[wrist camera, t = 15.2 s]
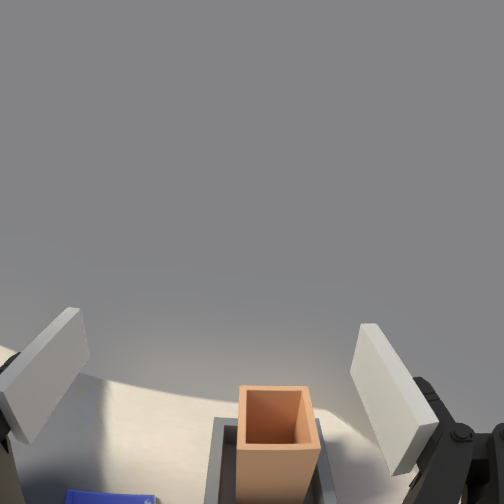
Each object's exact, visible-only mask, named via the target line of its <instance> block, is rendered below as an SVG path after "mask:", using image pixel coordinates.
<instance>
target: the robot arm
mask: <svg viewBox="0 0 504 504" xmlns="http://www.w3.org/2000/svg"><path fill="white" fill-rule="evenodd" d="M89 357H90V353H89V348H88V344H87V339H86V334H85V329H84V324H83V319H82V314H81V309H77V308H70V307H68V308H67V309H65V311H63V312H62V313H61V314H60V315H59V316H58V317H57V318H56V319H55V320H54V321H53V322H52V323H51V324H50V325H49V326H48V327H47V328H46V329H45V330H44V331H43V332H41V333H40V334H39V335H38V336H37V337H36V339H35V340H34V341H33V342H31V343H30V344H29V345H28V347H26V348H25V349H24V351H23V352H19V353H17V354H15V355H13V356H12V357H10V358H9V359H8V360H7V361H6V362H5V363H4V365H2V366H1V367H0V504H26V503H25V500H24V497H23V493H22V490H21V486H20V482H19V479H18V475H17V471H16V467H15V462H14V458H13V453H12V448H11V443H10V440H9V437H8V436H7V434H8V433H9V431H10V430H11V431H12V433H13V434H14V436H15V438H16V440H18V441H21V442H23V443H26V444H28V445H31V444H32V443H33V441H34V440H35V438H36V436H37V435H38V433H39V432H40V430H41V429H42V427H43V425H44V424H45V422H46V421H47V419H48V418H49V416H50V415H51V413H52V412H53V410H54V409H55V407H56V406H57V404H58V403H59V401H60V400H61V398H62V397H63V395H64V394H65V392H66V391H67V389H68V388H69V386H70V385H71V383H72V382H73V380H74V379H75V378H76V376H77V375H78V373H79V372H80V370H81V369H82V368H83V366H84V365H85V363H86V362H87V360H88V359H89ZM350 373H351V375H352V378H353V380H354V382H355V385H356V387H357V390H358V392H359V395H360V397H361V400H362V402H363V404H364V407H365V409H366V412H367V414H368V417H369V419H370V422H371V424H372V427H373V429H374V432H375V435H376V437H377V440H378V442H379V445H380V448H381V450H382V453H383V455H384V458H385V461H386V463H387V466H388V469H389V471H390V474H391V476H396V475H401V474H405V473H410V472H411V470H412V468H413V467H414V465H415V464H417V466H418V468H419V472H418V473H417V475H416V476H415V478H414V479H413V481H412V482H411V484H410V485H409V487H410V489H409V491H408V493H407V495H406V497H405V499H404V501H403V503H402V504H458V503H459V500H460V497H461V504H504V423H501V424H498V425H497V426H496V427H495V428H494V430H493V432H492V433H483V434H480V433H474V431H473V429H471V428H470V427H469V426H467V425H465V424H463V423H456V422H455V421H454V419H453V418H452V416H451V415H450V413H449V411H448V410H447V408H446V407H445V405H444V404H443V402H442V401H441V400H440V398H439V396H438V395H437V394H436V393H435V390H434V389H433V387H432V386H431V385H430V383H428V382H427V381H426V380H424V379H423V378H422V377H414V378H412V377H411V375H410V374H409V372H408V371H407V369H406V368H405V366H404V364H403V363H402V361H401V360H400V358H399V357H398V355H397V354H396V352H395V351H394V349H393V348H392V346H391V345H390V343H389V342H388V340H387V339H386V337H385V336H384V334H383V333H382V331H381V330H380V328H379V327H378V325H377V324H361V327H360V332H359V336H358V341H357V345H356V350H355V354H354V358H353V362H352V367H351V370H350ZM461 494H462V495H461Z"/></svg>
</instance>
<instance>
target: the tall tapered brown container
mask: <svg viewBox="0 0 504 504" xmlns="http://www.w3.org/2000/svg"><path fill="white" fill-rule="evenodd" d="M320 451H321V446H320V441H319V436H318V431H317V427H316V422H315V417H314V413H313V408H312V404H311V399H310V395H309V390H308V386H246V385H245V386H243V385H240V392H239V412H238V433H237V458H236V502H235V504H303V501H304V498H305V495H306V493H307V490H308V487H309V484H310V481H311V478H312V475H313V472H314V469H315V466H316V463H317V460H318V457H319V454H320Z"/></svg>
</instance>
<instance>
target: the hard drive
mask: <svg viewBox="0 0 504 504" xmlns="http://www.w3.org/2000/svg"><path fill="white" fill-rule="evenodd" d="M64 504H156V498H155V495H129V494H110V493H99V492H89V491H80V490H72V489H67V491H66V497H65V503H64Z"/></svg>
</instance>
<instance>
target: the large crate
mask: <svg viewBox="0 0 504 504" xmlns="http://www.w3.org/2000/svg"><path fill="white" fill-rule="evenodd" d="M315 422H316V427H317V431H318V436H319V441H320V446H321V451H320V454H319V457H318V460H317V463H316V466H315V469H314V472H313V475H312V478H311V481H310V484H309V487H308V490H307V493H306V495H305V498H304V501H303V504H338V503H337V499H336V494H335V489H334V485H333V480H332V475H331V471H330V466H329V462H328V457H327V453H326V448H325V444H324V440H323V435H322V431H321V426H320V422H319V418H317V419H315ZM237 433H238V419H236V418H218V417H214V424H213V432H212V440H211V448H210V456H209V464H208V472H207V480H206V489H205V497H204V504H235V502H236V458H237Z"/></svg>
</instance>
